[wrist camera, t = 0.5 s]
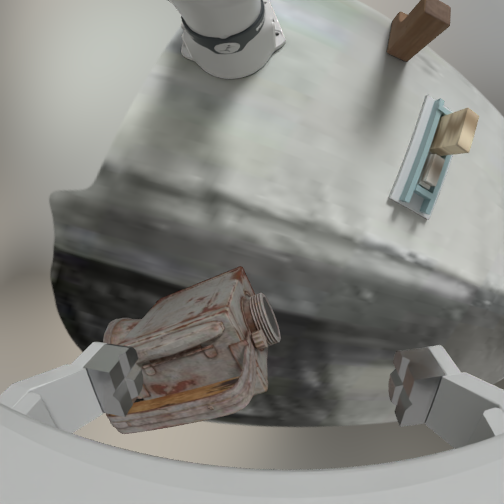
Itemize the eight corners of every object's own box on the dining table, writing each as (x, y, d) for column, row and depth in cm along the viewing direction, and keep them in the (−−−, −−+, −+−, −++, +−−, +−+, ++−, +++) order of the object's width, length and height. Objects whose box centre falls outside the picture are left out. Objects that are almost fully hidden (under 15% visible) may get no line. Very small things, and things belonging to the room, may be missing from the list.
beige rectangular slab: (436, 156, 49) (469, 152, 38) (426, 149, 49) (457, 144, 38) (447, 125, 47) (479, 116, 36) (437, 118, 47) (468, 107, 36)
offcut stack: (424, 189, 50) (434, 190, 46) (414, 183, 50) (424, 184, 46) (434, 160, 49) (445, 159, 45) (425, 154, 49) (435, 153, 45)
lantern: (129, 304, 59) (41, 386, 30) (254, 253, 56) (236, 328, 26) (165, 369, 62) (110, 472, 33) (288, 329, 58) (298, 445, 29)
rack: (426, 219, 52) (436, 221, 48) (388, 197, 52) (396, 198, 48) (461, 120, 48) (471, 116, 44) (425, 95, 47) (435, 90, 43)
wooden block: (392, 20, 44) (427, -25, 27) (412, 29, 44) (451, -12, 27) (385, 53, 46) (424, 12, 29) (406, 62, 46) (450, 26, 29)
